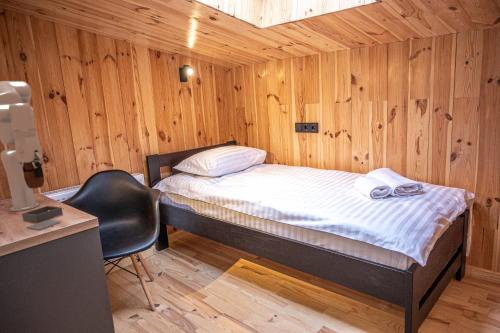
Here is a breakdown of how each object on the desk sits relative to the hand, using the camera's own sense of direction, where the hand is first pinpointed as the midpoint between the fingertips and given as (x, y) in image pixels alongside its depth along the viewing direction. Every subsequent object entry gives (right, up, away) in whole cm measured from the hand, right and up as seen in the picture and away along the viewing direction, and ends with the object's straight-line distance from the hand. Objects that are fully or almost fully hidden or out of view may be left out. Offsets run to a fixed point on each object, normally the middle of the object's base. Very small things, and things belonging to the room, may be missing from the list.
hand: (34, 176), depth 134 cm
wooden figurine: (0, -5, +1) cm, 5 cm away
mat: (+2, -21, +4) cm, 22 cm away
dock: (-6, -20, +15) cm, 26 cm away
